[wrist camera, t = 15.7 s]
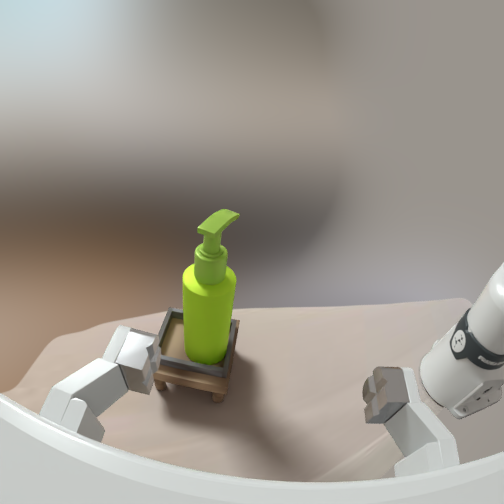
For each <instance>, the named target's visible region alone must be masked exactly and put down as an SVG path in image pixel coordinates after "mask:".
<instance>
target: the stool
mask: <svg viewBox="0 0 504 504" xmlns="http://www.w3.org/2000/svg"><path fill="white" fill-rule="evenodd" d="M239 322H240V320H235V319H231V323H230V330H229V338H228V345H227V351H226V355H225V357H224V358H223V359H222V360H221V361H220V362H218V363H216V364H213V365H205V364H200V363H195V362H193V361H192V360H190V359H189V358H188V356H187V355H186V352H185V346H184V320H183V310H182V309H177V308H172V307H169V309H168V312H167V314H166V316H165V319H164V321H163V324H162V326H161V329H160V331H159V334H158V335H159V340H160V341H159V344H158V346H159V347H160V348H161V360H160V365H159V368H158V371H157V372H155V373H154V374H153V378H154V382H155V386H156V388H157V389H158V390H164V389H165V388H166V382H168V383H172V384H177V385H181V386H186V387H190V388H195V389H200V390H205V391H210V392H213V395H212V399H213V401H214V402H216V403H220V402H222V401H223V398H224V394H226V395H227V390H228V384H229V379H230V373H231V367H232V362H233V356H234V350H235V345H236V339H237V333H238V328H239Z"/></svg>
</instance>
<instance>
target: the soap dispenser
mask: <svg viewBox="0 0 504 504" xmlns="http://www.w3.org/2000/svg"><path fill="white" fill-rule="evenodd" d="M239 215H240V214H238V213H235V212H232V211H229V210H226V209H222V210H220V211H217V212H216V213H214V214H213V215H211V216H210V217H209V218H208V219H206V220H205V221H204V222H203V223H202V224H201V225H200V226H199V227H198V233H200V234H202V235H204V243H203V244H201V245H199V246H198V247H197V248H196V250H195V263H194V264H193V265H191V266H189V267H188V268H187V269H186V270H185V272H184V274H183V320H184V346H185V352H186V355H187V356H188V358H189V359H190V360H192V361H193V362H195V363H200V364H205V365H213V364H216V363H218V362H220V361H221V360H222V359H223V358H224V357H225V355H226V351H227V345H228V338H229V330H230V323H231V316H232V308H233V301H234V293H235V287H236V276H235V274H234V273H233V271H232V270H231V269H230V268H229V267H227V266H226V265H227V255H228V253H227V250H226V248H225V247H224V246H222V245H220V242H221V232H222V231H223V230H224V229H225V228H226V227H227V226H228V225H229V224H230V223H231V222H233V221H234V220H236V219H238V217H239Z"/></svg>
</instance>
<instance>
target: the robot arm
mask: <svg viewBox="0 0 504 504" xmlns="http://www.w3.org/2000/svg"><path fill="white" fill-rule="evenodd" d="M159 341H160V340H159V335H156V334H152V333H148V332H144V331H140V330H136V329H133V328H129V327H126V326H122V325H120V326H119V327H118V328H117V329H116V331H115V333H114V335H113V337H112V339H111V341H110V343H109V345H108V347H107V349H106V351H105V353H104V355H103V357H102V359H100V358H97V359H96V360H94V361H93V362H91V363H89V364H88V365H86V366H85V367H83V368H81V369H80V370H78V371H77V372H75V373H73V374H72V375H70V376H69V377H67V378H65V379H64V380H62V381H61V382H59V383H57V384H56V385H54V386H53V387H52V388H51V390H50V392H49V394H48V396H47V399H46V401H45V403H44V405H43V407H42V409H41V411H40V413H39V415H38V414H36V413H34V412H32V411H30V410H29V409H27V408H25V407H23V406H21V405H20V404H18V403H16V402H14V401H13V400H11V399H9V398H8V397H6V396H4V395H3V394H1V393H0V504H504V451H503V452H500V453H497V454H494V455H491V456H488V457H485V458H482V459H478V460H475V461H472V462H468V463H465V464H461V465H460V462H459V457H458V451H457V446H456V441H455V438H454V436H453V435H452V434H451V433H450V432H449V431H448V429H447V428H446V427H445V426H444V425H443V424H442V422H441V421H440V420H439V419H438V418H437V417H436V415H435V414H434V413H433V412H432V411H431V410H430V409H429V407H428V406H427V405H426V404H425V403H424V402H421V400H420V396H419V391H418V387H417V383H416V379H415V375H414V371H413V370H412V368H400V367H376V368H375V369H374V371H373V375H372V376H370V377H368V378H367V380H366V381H365V383H364V386H363V400H364V401H365V402H366V403H367V405H366V407H365V409H364V411H365V420H366V423H374V424H384V425H385V427H386V429H387V430H388V432H389V433H390V435H391V436H392V438H393V439H394V441H395V443H396V444H397V446H398V447H399V449H400V450H401V452H402V453H403V455H404V457H405V458H404V459H402V460H401V461H399V462H397V463H396V464H395V465H394V466H395V478H386V479H376V480H365V481H350V482H287V481H271V480H260V479H250V478H242V477H234V476H227V475H221V474H215V473H209V472H204V471H199V470H194V469H189V468H184V467H180V466H176V465H171V464H167V463H164V462H160V461H156V460H152V459H149V458H145V457H142V456H139V455H135V454H132V453H129V452H126V451H123V450H120V449H117V448H114V447H111V446H109V445H106V444H103V443H101V441H102V438H103V435H104V432H105V430H104V427H103V426H102V425H101V423H100V422H99V421H98V419H97V418H96V417H98V416H99V415H100V414H101V413H103V412H104V411H105V410H106V409H107V408H109V407H110V406H111V405H112V404H113V403H115V402H116V401H117V400H118V399H119V398H121V397H122V396H123V395H124V394H125V393H127V392H128V390H131V391H135V392H139V393H143V394H147V395H149V394H150V391H151V388H152V386H153V383H154V378H153V374H154V373H155V372H157V371H158V368H159V365H160V360H161V348H160V347H159V346H158V344H159ZM420 374H421V379H422V382H423V385H424V387H425V389H426V390H427V392H428V393H429V395H430V396H431V397H432V398H433V399H434V400H435V401H436V402H437V403H439V404H440V405H442V406H444V407H445V408H447V409H448V410H449V411H450V412H451V413H452V414H453V416H454V417H455V418H457V419H462V418H464V417H467V416H469V415H471V414H474V413H476V412H478V411H480V410H482V409H484V408H486V407H488V406H491V405H492V404H495V403H496V402H498V401H499V400H500V399H501V395H502V390H501V386H502V385H503V383H504V262H503V264H502V265H501V266H500V268H499V269H498V270H497V271H496V272H495V273H494V274H493V275H492V277H491V279H490V280H489V282H488V283H487V285H486V286H485V288H484V290H483V291H482V293H481V295H480V296H479V297H478V299H477V300H476V302H475V304H474V305H473V306H472V308H469V309H468V310H467V311H466V313H465V314H463V316H462V317H461V319H460V321H459V322H458V323H456V324H455V325H454V326H453V327H452V328H451V329H450V330H449V332H448V333H447V334H446V335H445V336H444V337H443V338H442V339H441V340H437V341H436V342H435V343H434V344H433V346H432V350H431V351H430V352H429V353H428V354H426V355H425V357H424V358H423V360H422V362H421V367H420Z"/></svg>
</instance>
